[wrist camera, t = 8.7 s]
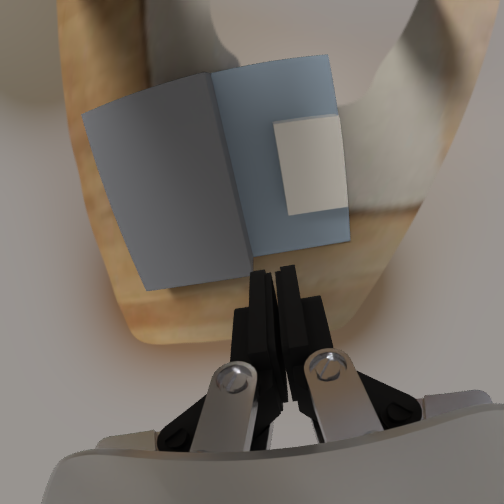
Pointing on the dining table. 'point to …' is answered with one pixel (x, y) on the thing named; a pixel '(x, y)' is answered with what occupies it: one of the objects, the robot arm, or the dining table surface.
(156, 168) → the panel
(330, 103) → the mat
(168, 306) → the dining table surface
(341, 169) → the tile
